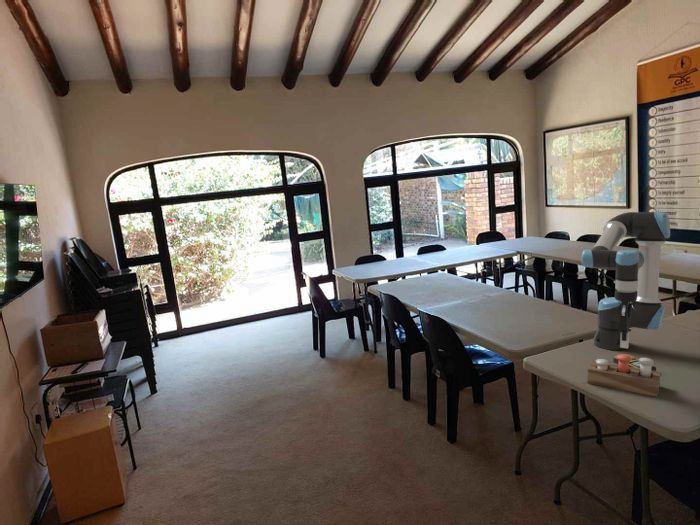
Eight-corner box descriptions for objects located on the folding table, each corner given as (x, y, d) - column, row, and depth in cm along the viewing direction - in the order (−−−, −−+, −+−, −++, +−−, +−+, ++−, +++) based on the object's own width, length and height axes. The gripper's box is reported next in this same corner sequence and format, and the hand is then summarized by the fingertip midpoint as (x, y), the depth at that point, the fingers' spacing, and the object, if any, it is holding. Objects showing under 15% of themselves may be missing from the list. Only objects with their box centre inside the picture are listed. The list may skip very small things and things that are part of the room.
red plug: (617, 370, 188) (618, 353, 187) (631, 373, 185) (631, 355, 184) (615, 375, 185) (616, 357, 183) (629, 377, 182) (630, 359, 180)
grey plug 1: (596, 374, 194) (597, 358, 192) (609, 377, 191) (610, 360, 189) (594, 379, 190) (595, 362, 188) (607, 381, 187) (608, 364, 185)
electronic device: (627, 359, 209) (627, 352, 208) (656, 373, 194) (657, 365, 193) (611, 362, 207) (611, 355, 207) (639, 376, 192) (640, 368, 192)
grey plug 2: (639, 374, 184) (639, 356, 182) (653, 376, 181) (654, 359, 179) (637, 379, 180) (638, 361, 179) (652, 381, 177) (652, 363, 176)
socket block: (592, 373, 197) (592, 360, 196) (659, 386, 182) (660, 371, 181) (587, 383, 189) (587, 369, 188) (657, 396, 175) (658, 382, 173)
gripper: (617, 285, 186) (616, 340, 190) (612, 293, 176) (610, 351, 180) (639, 286, 181) (637, 343, 185) (635, 295, 171) (632, 354, 175)
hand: (624, 347), depth 183 cm, fingers closed
